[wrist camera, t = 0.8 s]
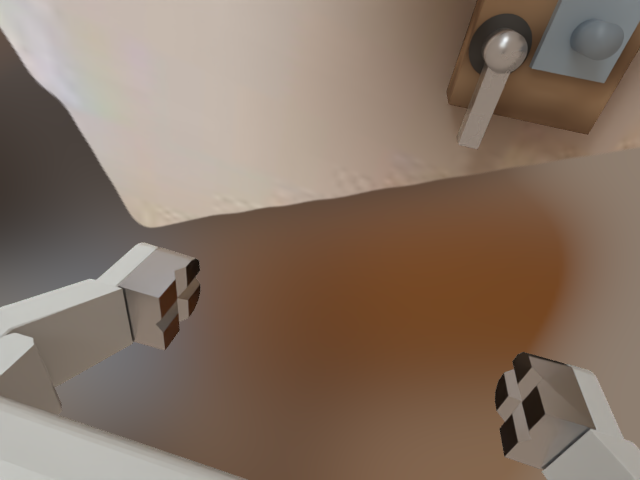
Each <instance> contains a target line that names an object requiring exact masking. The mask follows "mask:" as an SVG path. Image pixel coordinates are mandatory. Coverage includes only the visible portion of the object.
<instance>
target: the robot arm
mask: <svg viewBox="0 0 640 480" xmlns="http://www.w3.org/2000/svg"><path fill="white" fill-rule="evenodd" d="M199 271H200V265H199V260H197V259H196V258H193V257H190V256H186V255H183V254H180V253H177V252H174V251H171V250H167V249H164V248H159V247H156V246H153V245H150V244H147V243H144V242H143V243H139V244H137V245H136V246H134V247H133V248H132V249H131V250H130V251H129V252H128V253H126V254H125V255H124V256H123V257H122V258H121V259H120V260H118V261H117V262H116V263H115V264H114V265H113V266H112V267H111V268H110V269H108V270H107V271H106V272H105V273H104V274H103V275H101V276H100V277H99V278H98V279H97V280H93V279H88V280H85V281H82V282H79V283H76V284H72V285H69V286H66V287H63V288H60V289H57V290H54V291H50V292H47V293H44V294H41V295H38V296H35V297H32V298H28V299H25V300H23V301H19V302H16V303H13V304H10V305H6V306H3V307H0V480H247V479H244V478H241V477H238V476H235V475H232V474H230V473H227V472H223V471H221V470H218V469H215V468H212V467H209V466H206V465H203V464H200V463H197V462H194V461H191V460H188V459H186V458H183V457H180V456H177V455H174V454H171V453H168V452H165V451H162V450H159V449H156V448H153V447H150V446H147V445H144V444H141V443H138V442H135V441H133V440H130V439H127V438H124V437H121V436H118V435H115V434H112V433H109V432H106V431H103V430H100V429H97V428H94V427H92V426H89V425H86V424H82V423H80V422H77V421H74V420H71V419H68V418H65V417H62V416H59V415H58V414H59V413H60V412H61V411H62V404H61V401H60V399H59V397H58V394H57V392H56V390H55V387H57V386H58V385H60V384H62V383H64V382H65V381H67V380H69V379H71V378H73V377H74V376H76V375H78V374H80V373H81V372H83V371H85V370H87V369H88V368H90V367H92V366H94V365H95V364H97V363H99V362H101V361H103V360H104V359H106V358H108V357H110V356H111V355H113V354H115V353H117V352H118V351H120V350H122V349H124V348H126V347H127V346H129V345H131V344H132V343H133V342H137V343H141V344H144V345H147V346H151V347H154V348H158V349H162V350H166V349H167V347H168V346H169V345H170V343H171V342H172V340H173V339H174V337H175V336H176V334H177V333H178V332H179V330H180V329H179V322H180V321H183V320H185V319H187V318H189V317H190V315H191V314H192V312H193V311H194V309H195V307H196V305H197V302H198V300H199V296H200V283H199V281H198V280H197V279H196V275H197V274H198V273H199ZM513 366H514V369H513V370H510V371H507V372H505V373H504V374H503V375H502V376H501V378H500V379H499V381H498V384H497V388H496V392H495V404H496V411H497V412H498V414H499V415H500V416H501V417H502V419H503V420H504V424H503V425H502V426H501V428H500V434H501V440H502V446H503V451H504V456H505V457H506V458H509V459H512V460H515V461H518V462H521V463H524V464H527V465H530V466H533V467H535V468H538V469H541V470H543V471H542V473H543V474H544V476H545V477H546V479H547V480H640V449H639V448H638V447H637V446H636V445H635V444H634V443H633V442H632V441H628V440H625V439H624V438H623V435H622V433H621V431H620V429H619V427H618V424H617V422H616V420H615V418H614V415H613V413H612V411H611V409H610V406H609V404H608V402H607V400H606V397H605V395H604V393H603V391H602V388H601V386H600V384H599V382H598V379H597V377H596V376H595V374H594V373H593V372H592V371H591V370H587V369H583V368H579V367H576V366H572V365H569V364H564V363H561V362H557V361H553V360H550V359H546V358H543V357H539V356H536V355H532V354H528V353H525V352H522V353H520V354H518V355H517V356H516V358H515V359H514V360H513Z"/></svg>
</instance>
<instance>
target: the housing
mask: <svg viewBox="0 0 640 480" xmlns="http://www.w3.org/2000/svg"><path fill="white" fill-rule="evenodd" d="M557 2H558V0H477V3H476V6H475V9H474V12H473V15H472V18H471V21H470V24H469V27H468V30H467V33H466V36H465V39H464V41H463V44H462V47H461V50H460V53H459V56H458V59H457V62H456V65H455V68H454V71H453V74H452V77H451V80H450V83H449V86H448V89H447V97H448V103H449V104H450V105H455V106H459V107H464V108H468V106H469V103H470V100H471V98H472V95H473V93H474V90H475V87H476V85H477V82H478V79H479V77H480V74H481V71H482V69H483V66H484V64H485V61H484V59H483V57H482V46H483V43H484V41H485V39H486V38H487V37H488V36H489V35H490V34H491V33H492V32H493V31H495V30H497V29H500V28H509V29H512V30H514V31H515V32H517V33H519V34H520V35H522V36H523V37H524V38H525V40H526V42H527V47H528V50H527V55H526V57H525V59H524V61H523V63H522V64H521V65H520V66H519V67H518V68H517V69H515V70H514V71H512V72H510V74H509V76H508V79H507V81H506V84H505V86H504V88H503V91H502V93H501V95H500V98H499V100H498V102H497V105H496V107H495V110H494V112H493V114H496V115H500V116H505V117H510V118H514V119H519V120H523V121H528V122H532V123H537V124H542V125H546V126H551V127H555V128H560V129H565V130H569V131H574V132H578V133H583V134H587V135H588V134H589V132H590V131H591V129H592V127H593V125H594V124H595V122H596V120H597V119H598V117H599V115H600V114H601V112H602V110H603V109H604V107H605V105H606V104H607V102H608V100H609V98H610V97H611V95H612V93H613V92H614V90H615V88H616V87H617V85H618V83H619V82H620V80H621V78H622V77H623V75H624V73H625V71H626V70H627V68H628V66H629V65H630V63H631V61H632V60H633V58H634V56H635V55H636V53H637V51H638V50H639V48H640V21H639V23H638V25H637V27H636V28H635V30H634V32H633V34H632V35H631V37H630V39H629V41H628V42H627V44H626V46H625V48H624V49H623V51H622V53H621V55H620V56H619V58H618V60H617V62H616V63H615V65H614V67H613V69H612V70H611V72H610V74H609V76H608V77H607V79H606V81H605V83H600V82H595V81H590V80H586V79H581V78H576V77H571V76H566V75H561V74H556V73H551V72H546V71H542V70H537V69H532V68H530V67H529V65H530V63H531V61H532V58H533V56H534V54H535V52H536V49H537V47H538V45H539V43H540V40H541V38H542V36H543V34H544V32H545V29H546V27H547V25H548V23H549V20H550V18H551V16H552V14H553V11H554V9H555V7H556V5H557Z"/></svg>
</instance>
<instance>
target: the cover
mask: <svg viewBox="0 0 640 480" xmlns="http://www.w3.org/2000/svg"><path fill="white" fill-rule="evenodd" d="M639 21H640V0H558V2H557V5H556V7H555V9H554V11H553V14H552V16H551V18H550V20H549V23H548V25H547V27H546V29H545V32H544V34H543V36H542V38H541V40H540V43H539V45H538V47H537V49H536V52H535V54H534V56H533V58H532V61H531V63H530V65H529V67H530V68H532V69H537V70H542V71H546V72H551V73H556V74H561V75H566V76H571V77H576V78H581V79H586V80H590V81H595V82H600V83H605V81H606V79H607V77H608V76H609V74H610V72H611V70H612V69H613V67H614V65H615V63H616V62H617V60H618V58H619V56H620V55H621V53H622V51H623V49H624V48H625V46H626V44H627V42H628V41H629V39H630V37H631V35H632V34H633V32H634V30H635V28H636V27H637V25H638V23H639Z"/></svg>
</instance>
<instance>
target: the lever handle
mask: <svg viewBox="0 0 640 480" xmlns="http://www.w3.org/2000/svg"><path fill="white" fill-rule="evenodd" d="M527 50H528V47H527V42H526V40H525V38H524V37H523V36H522V35H520V34H519V33H517V32H515V31H514V30H512V29H509V28H500V29H497V30H495V31H493V32H492V33H491V34H490V35H489V36H488V37H487V38H486V39H485V41H484V43H483V46H482V57H483V59H484V61H485V64H484V66H483V69H482V71H481V74H480V77H479V79H478V82H477V85H476V87H475V90H474V93H473V95H472V98H471V100H470V103H469V106H468V108H467V111H466V114H465V116H464V119H463V122H462V124H461V127H460V129H459V132H458V135H457V141H458V145H461V146H465V147H469V148H474V149H478V147H479V145H480V143H481V140H482V138H483V136H484V133H485V131H486V128H487V126H488V124H489V121H490V119H491V117H492V114H493V112H494V110H495V107H496V105H497V102H498V100H499V98H500V95H501V93H502V91H503V88H504V86H505V84H506V81H507V79H508V76H509V74H510V72H512V71H514V70H515V69H517V68H518V67H519V66H520V65H521V64H522V63H523V61H524V59H525V57H526V55H527Z"/></svg>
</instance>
